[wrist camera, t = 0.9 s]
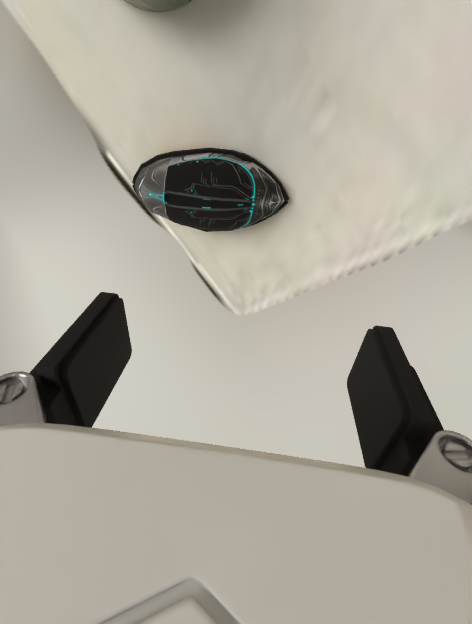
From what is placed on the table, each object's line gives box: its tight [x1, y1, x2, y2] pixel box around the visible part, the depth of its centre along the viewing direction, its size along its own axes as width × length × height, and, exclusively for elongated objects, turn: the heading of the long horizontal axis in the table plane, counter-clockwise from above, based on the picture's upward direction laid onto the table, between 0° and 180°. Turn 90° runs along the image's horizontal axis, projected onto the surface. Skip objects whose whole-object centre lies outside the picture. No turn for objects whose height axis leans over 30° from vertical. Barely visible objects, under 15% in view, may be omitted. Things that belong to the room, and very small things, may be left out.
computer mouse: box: [132, 148, 289, 232], centre depth 33 cm, size 9×17×6 cm, turn 84°
